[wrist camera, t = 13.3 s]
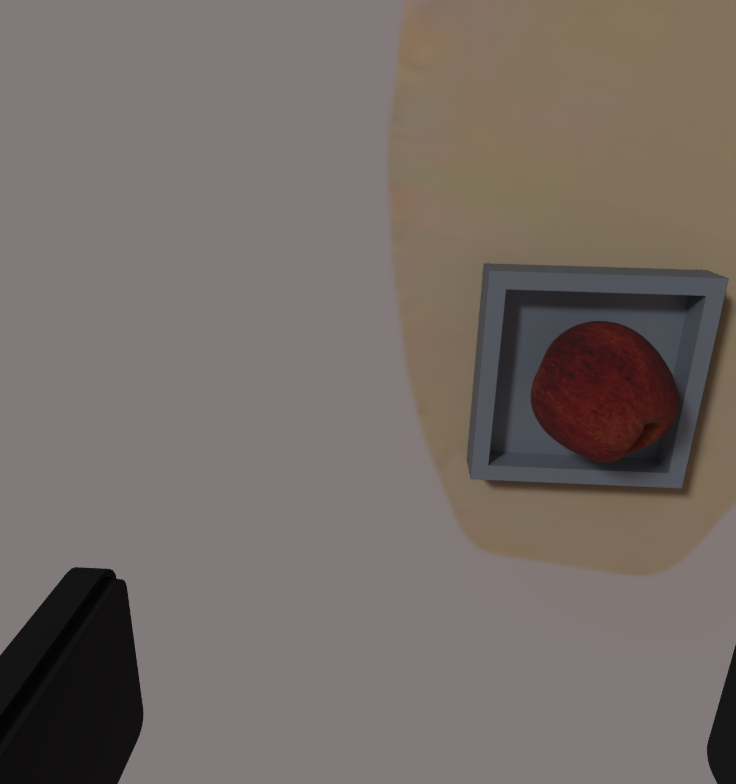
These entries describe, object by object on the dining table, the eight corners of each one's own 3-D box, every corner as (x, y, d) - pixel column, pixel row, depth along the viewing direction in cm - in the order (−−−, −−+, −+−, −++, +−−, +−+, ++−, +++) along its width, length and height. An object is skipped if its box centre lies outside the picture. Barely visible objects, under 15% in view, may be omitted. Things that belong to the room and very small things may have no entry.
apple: (552, 446, 41) (587, 511, 33) (496, 346, 38) (520, 392, 31) (662, 392, 39) (725, 447, 31) (610, 284, 37) (664, 316, 29)
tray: (483, 263, 37) (489, 270, 35) (706, 270, 37) (728, 278, 34) (466, 460, 42) (470, 479, 39) (665, 468, 41) (681, 488, 39)
